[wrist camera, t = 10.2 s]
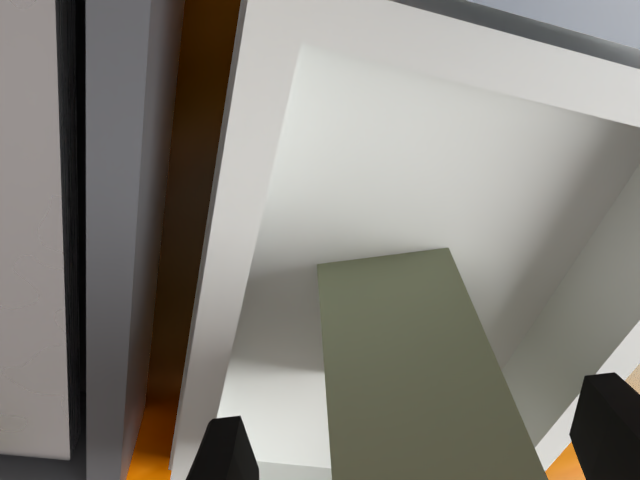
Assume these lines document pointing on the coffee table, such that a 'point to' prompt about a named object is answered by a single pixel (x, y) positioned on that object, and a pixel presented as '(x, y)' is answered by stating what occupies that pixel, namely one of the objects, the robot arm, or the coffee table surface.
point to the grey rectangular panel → (39, 230)
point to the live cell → (414, 376)
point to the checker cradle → (117, 223)
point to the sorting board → (418, 201)
